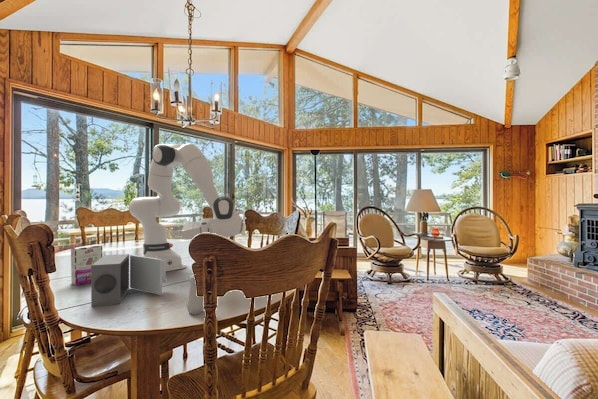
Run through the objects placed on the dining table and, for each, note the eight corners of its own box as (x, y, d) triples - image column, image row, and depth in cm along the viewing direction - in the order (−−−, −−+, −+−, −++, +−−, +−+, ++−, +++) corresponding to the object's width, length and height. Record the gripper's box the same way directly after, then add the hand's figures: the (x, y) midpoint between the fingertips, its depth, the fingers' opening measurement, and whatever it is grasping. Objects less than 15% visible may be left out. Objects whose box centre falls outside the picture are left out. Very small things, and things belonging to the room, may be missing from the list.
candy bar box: (97, 278, 142) (98, 244, 142) (103, 279, 140) (103, 245, 139) (70, 283, 133) (70, 247, 132) (75, 285, 130) (75, 248, 130)
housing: (104, 290, 124) (104, 255, 124) (129, 288, 127) (129, 254, 127) (89, 308, 106) (90, 266, 105) (118, 305, 109) (119, 264, 108)
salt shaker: (189, 309, 106) (189, 273, 106) (205, 308, 107) (206, 273, 106) (184, 315, 100) (184, 277, 100) (201, 315, 101) (202, 277, 101)
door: (129, 287, 127) (129, 255, 127) (140, 284, 132) (140, 253, 132) (159, 294, 119) (160, 259, 119) (170, 290, 124) (170, 257, 124)
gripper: (205, 217, 140) (174, 219, 136) (205, 225, 121) (168, 228, 117) (206, 230, 141) (175, 232, 137) (205, 240, 121) (169, 243, 117)
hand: (171, 230), depth 127 cm, fingers open, 8 cm apart
